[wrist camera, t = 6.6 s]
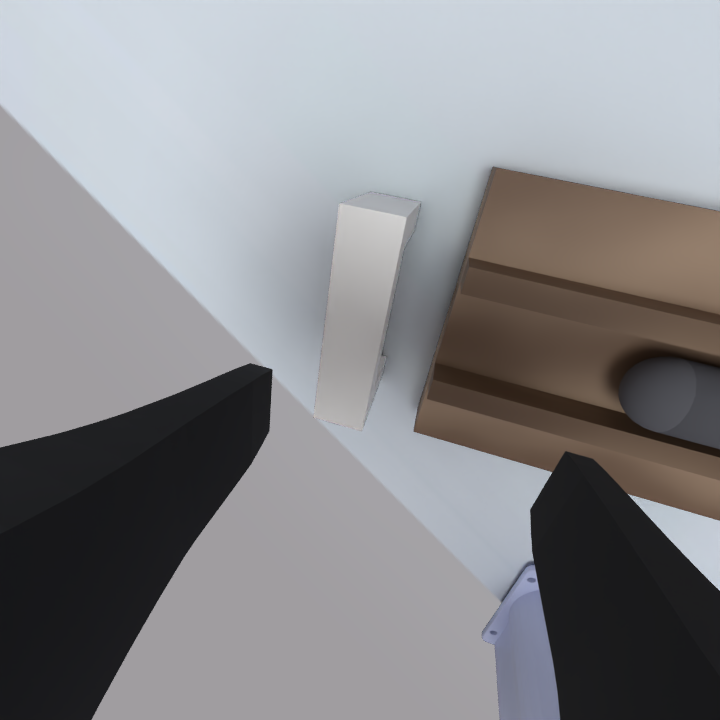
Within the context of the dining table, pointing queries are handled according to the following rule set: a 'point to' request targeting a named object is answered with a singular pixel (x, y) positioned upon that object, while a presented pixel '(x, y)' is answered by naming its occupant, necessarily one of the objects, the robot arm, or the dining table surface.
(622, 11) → the dining table surface
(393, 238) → the grey bracket
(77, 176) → the dining table surface
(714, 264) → the channel deck
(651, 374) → the grey slider with block
